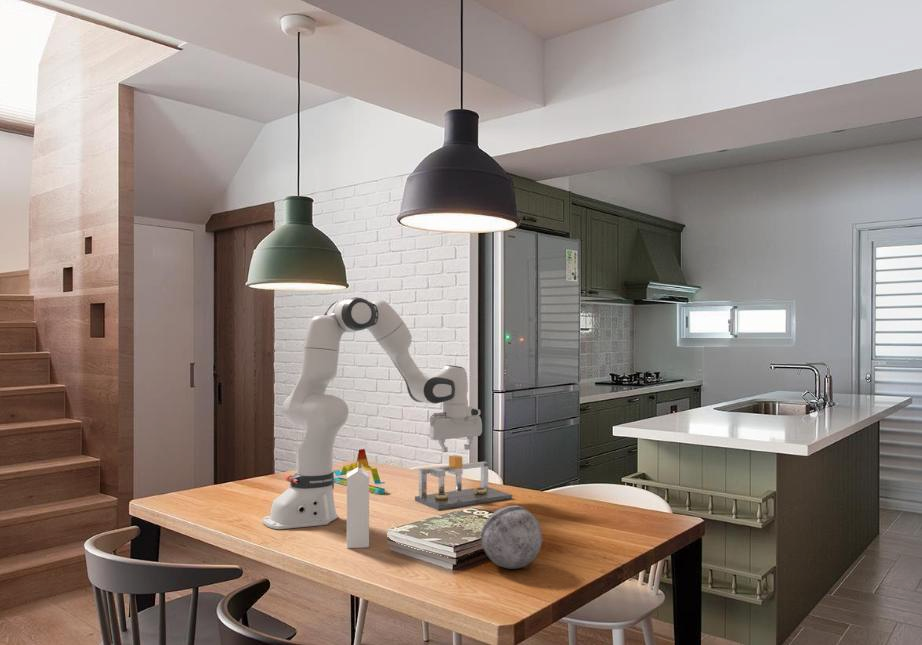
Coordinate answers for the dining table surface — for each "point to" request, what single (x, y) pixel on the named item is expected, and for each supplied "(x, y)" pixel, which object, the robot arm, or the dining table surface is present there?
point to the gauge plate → (457, 497)
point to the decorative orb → (511, 537)
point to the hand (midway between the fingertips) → (456, 450)
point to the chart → (360, 461)
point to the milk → (357, 509)
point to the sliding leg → (456, 470)
